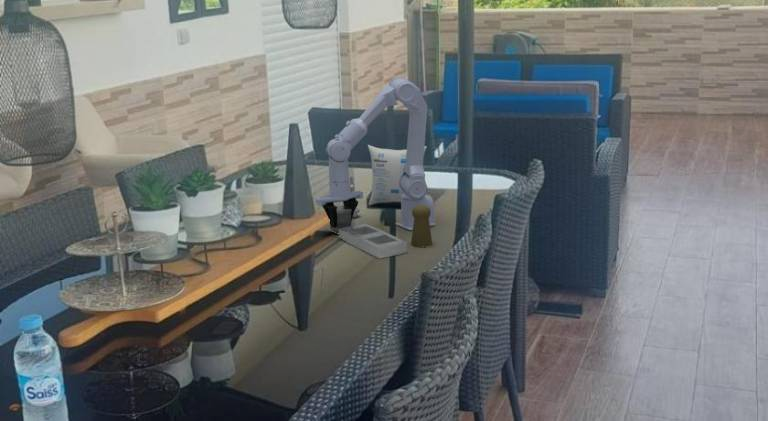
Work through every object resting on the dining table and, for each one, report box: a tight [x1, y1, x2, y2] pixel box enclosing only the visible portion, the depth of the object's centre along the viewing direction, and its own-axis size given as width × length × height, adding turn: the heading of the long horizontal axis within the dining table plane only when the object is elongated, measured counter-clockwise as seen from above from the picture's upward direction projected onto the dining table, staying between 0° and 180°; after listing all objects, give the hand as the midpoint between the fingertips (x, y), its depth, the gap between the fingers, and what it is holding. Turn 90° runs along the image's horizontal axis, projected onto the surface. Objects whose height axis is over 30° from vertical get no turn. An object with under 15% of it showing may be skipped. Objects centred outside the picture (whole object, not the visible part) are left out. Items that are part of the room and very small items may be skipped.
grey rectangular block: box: [329, 204, 352, 233], centre depth 267 cm, size 5×5×7 cm
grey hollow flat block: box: [338, 223, 408, 260], centre depth 255 cm, size 9×22×3 cm, turn 32°
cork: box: [410, 205, 433, 248], centre depth 254 cm, size 6×6×11 cm
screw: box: [349, 176, 361, 219], centre depth 281 cm, size 13×5×5 cm
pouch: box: [367, 144, 427, 206], centre depth 291 cm, size 8×19×20 cm, turn 74°
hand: (340, 225), depth 267 cm, fingers closed on grey rectangular block, 5 cm apart
